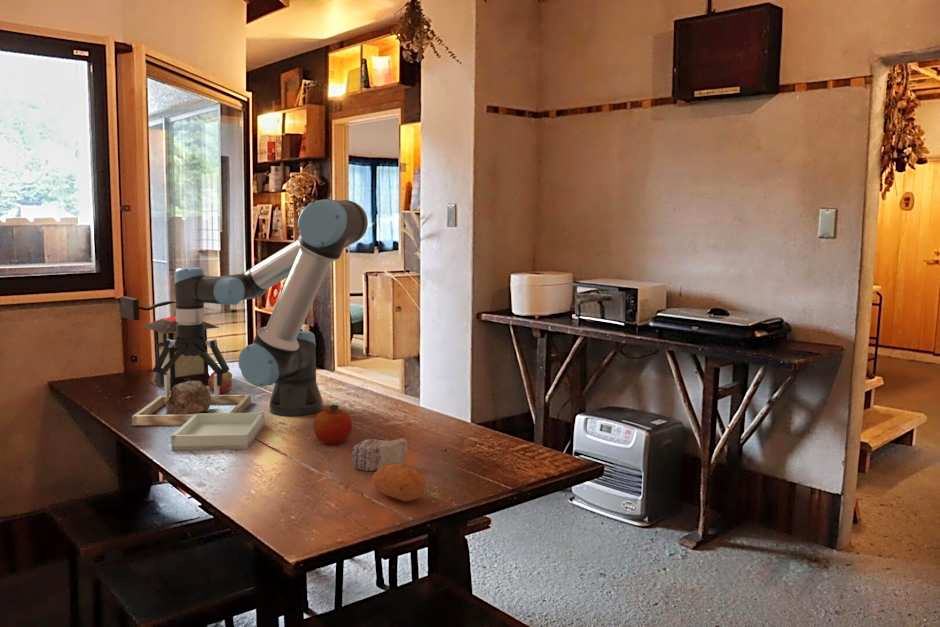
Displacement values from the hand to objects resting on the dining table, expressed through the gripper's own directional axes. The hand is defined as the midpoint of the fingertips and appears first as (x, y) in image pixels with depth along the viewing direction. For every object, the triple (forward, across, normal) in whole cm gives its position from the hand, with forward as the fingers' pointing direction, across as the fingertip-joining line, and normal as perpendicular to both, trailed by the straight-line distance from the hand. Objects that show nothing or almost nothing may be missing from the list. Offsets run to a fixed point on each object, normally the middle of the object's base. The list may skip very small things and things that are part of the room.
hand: (192, 397), depth 222 cm
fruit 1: (+5, -3, -22) cm, 22 cm away
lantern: (+6, +16, -35) cm, 39 cm away
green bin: (+4, -14, +24) cm, 28 cm away
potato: (+3, -60, +69) cm, 92 cm away
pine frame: (+5, -1, 0) cm, 5 cm away
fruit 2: (+4, -43, +30) cm, 53 cm away
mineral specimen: (+4, -55, +49) cm, 74 cm away
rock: (+4, 0, 0) cm, 4 cm away
